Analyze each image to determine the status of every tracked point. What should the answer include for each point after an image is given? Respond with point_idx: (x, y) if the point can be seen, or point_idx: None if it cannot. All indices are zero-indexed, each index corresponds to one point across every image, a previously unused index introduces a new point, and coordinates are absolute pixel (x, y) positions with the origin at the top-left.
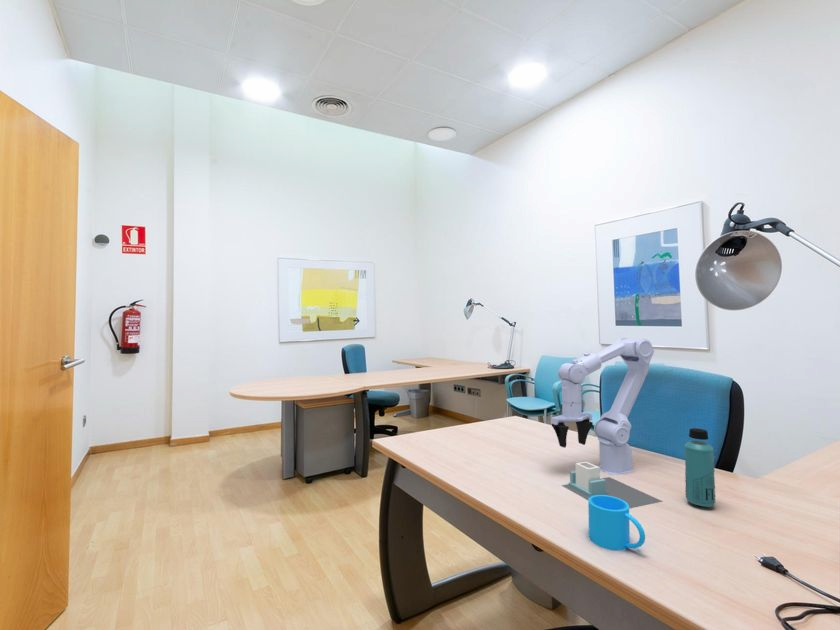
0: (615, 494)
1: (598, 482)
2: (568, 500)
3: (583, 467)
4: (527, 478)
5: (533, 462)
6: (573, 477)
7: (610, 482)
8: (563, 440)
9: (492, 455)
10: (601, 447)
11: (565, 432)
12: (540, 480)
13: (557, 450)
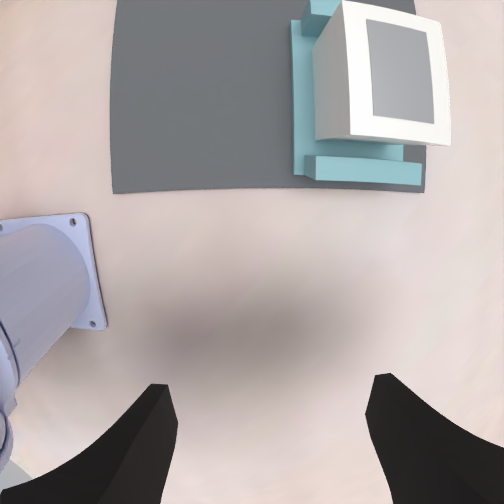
0: (257, 8)
1: None
2: (468, 80)
3: (444, 65)
4: (458, 317)
5: (314, 438)
6: (402, 161)
7: (160, 128)
8: (429, 409)
9: (380, 483)
10: (30, 344)
11: (472, 457)
12: (438, 286)
13: None
